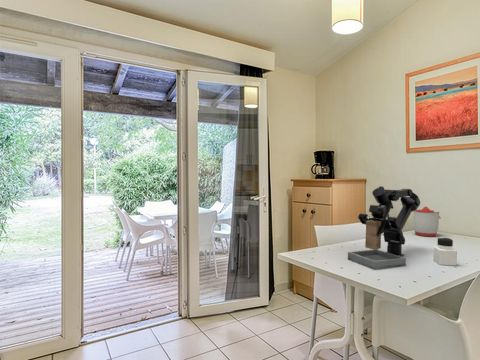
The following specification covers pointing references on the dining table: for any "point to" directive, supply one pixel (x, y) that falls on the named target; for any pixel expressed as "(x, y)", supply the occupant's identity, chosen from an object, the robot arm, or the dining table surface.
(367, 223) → the walnut block
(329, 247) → the dining table surface
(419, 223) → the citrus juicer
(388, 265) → the tray
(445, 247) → the medicine bottle
